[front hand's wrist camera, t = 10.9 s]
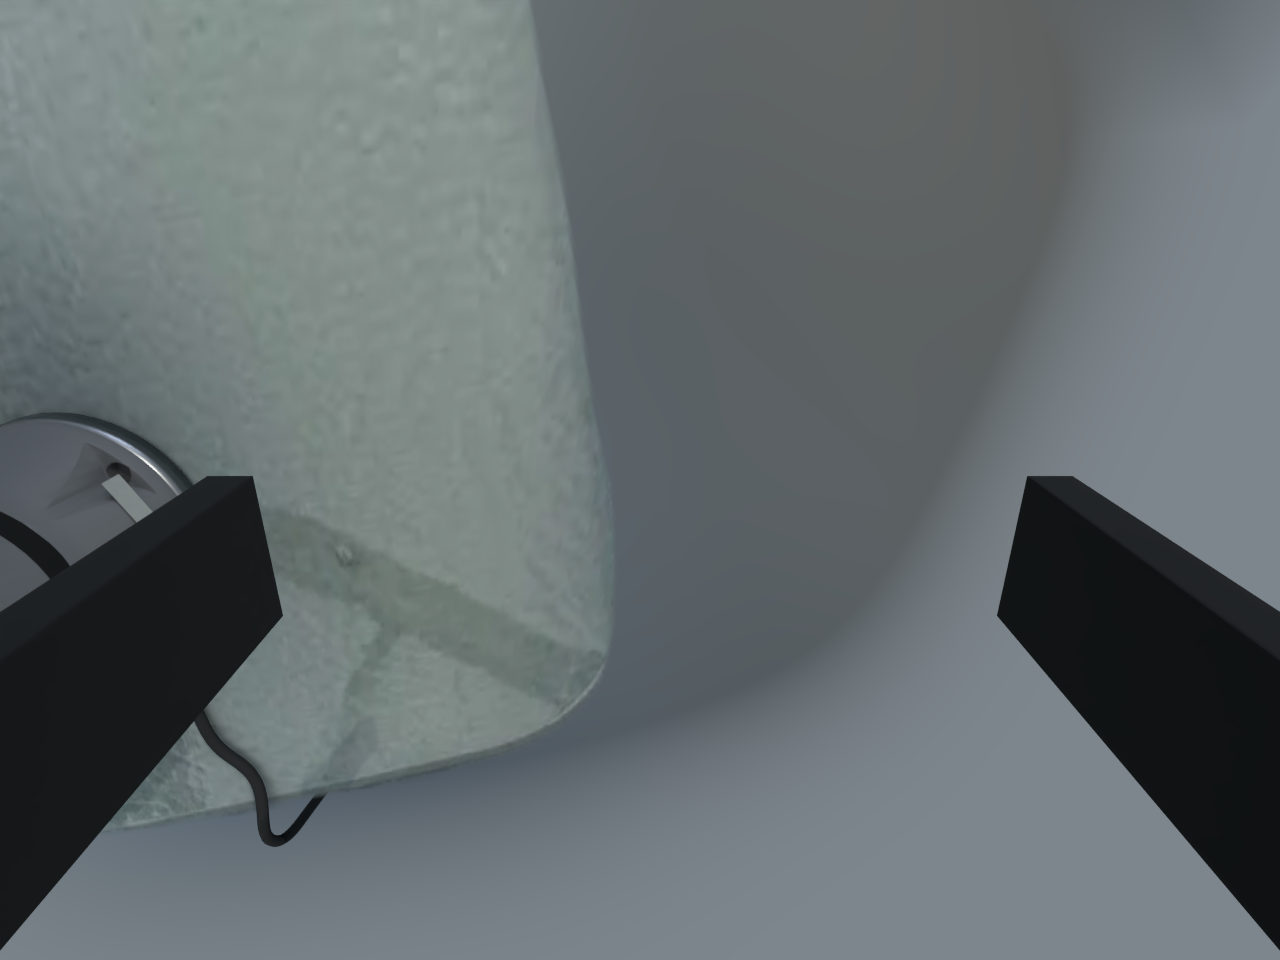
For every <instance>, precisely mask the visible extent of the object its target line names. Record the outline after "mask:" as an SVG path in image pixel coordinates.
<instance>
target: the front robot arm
mask: <svg viewBox="0 0 1280 960" xmlns="http://www.w3.org/2000/svg"><path fill="white" fill-rule="evenodd" d="M282 616H283V614H282V609H281V605H280V600H279V595H278V591H277V586H276V581H275V577H274V572H273V568H272V563H271V558H270V554H269V549H268V545H267V540H266V535H265V531H264V526H263V522H262V517H261V512H260V508H259V503H258V498H257V494H256V489H255V485H254V480H253V476H207V477H205V478H204V479H202V480H201V481H199V482H198V483H196V484H195V485H192V484H191V482H190V481H189V480H188V479H187V477H186V476H185V475H184V474H183V473H182V471H181V470H180V469H179V468H178V467H177V466H176V465H175V464H174V463H173V462H172V461H171V460H170V459H169V458H168V457H166V456H165V455H164V454H163V453H162V452H160V451H159V450H158V449H157V448H155V447H154V446H152V445H151V444H150V443H148V442H147V441H145V440H144V439H142V438H140V437H139V436H137V435H135V434H133V433H132V432H130V431H127V430H125V429H123V428H121V427H119V426H117V425H114V424H111V423H109V422H106V421H103V420H100V419H96V418H93V417H88V416H84V415H78V414H70V413H41V414H35V415H29V416H26V417H22V418H19V419H16V420H13V421H10V422H8V423H5V424H2V425H0V950H1V949H2V948H3V946H4V945H5V944H6V943H7V942H8V941H9V939H10V938H11V937H12V936H13V935H14V933H15V932H16V931H17V930H18V929H19V927H20V926H21V925H22V924H23V923H24V922H25V920H26V919H27V918H28V917H29V916H30V914H31V913H32V912H33V911H34V910H35V909H36V907H37V906H38V905H39V904H40V903H41V901H42V900H43V899H44V898H45V897H46V896H47V894H48V893H49V892H50V891H51V890H52V888H53V887H54V886H55V885H56V884H57V883H58V881H59V880H60V879H61V878H62V877H63V875H64V874H65V873H66V872H67V871H68V869H69V868H70V867H71V866H72V865H73V864H74V862H75V861H76V860H77V859H78V858H79V856H80V855H81V854H82V853H83V852H84V850H85V849H86V848H87V847H88V846H89V845H90V843H91V842H92V841H93V840H94V839H95V838H96V836H97V835H98V834H99V833H100V832H101V830H102V829H103V828H104V827H105V826H106V825H107V823H108V822H109V821H110V820H111V819H112V817H113V816H114V815H115V814H116V813H117V811H118V810H119V809H120V808H121V807H122V806H123V804H124V803H125V802H126V801H127V800H128V798H129V797H130V796H131V795H132V794H133V793H134V791H135V790H136V789H137V788H138V787H139V785H140V784H141V783H142V782H143V781H144V780H145V778H146V777H147V776H148V775H149V774H150V772H151V771H152V770H153V769H154V768H155V767H156V765H157V764H158V763H159V762H160V761H161V759H162V758H163V757H164V756H165V755H166V753H167V752H168V751H169V750H170V749H171V748H172V746H173V745H174V744H175V743H176V742H177V740H178V739H179V738H180V737H181V736H182V735H183V733H184V732H185V731H186V730H187V729H188V727H189V726H190V725H191V724H192V723H193V722H194V721H195V723H196V725H197V727H198V729H199V731H200V733H201V735H202V737H203V738H204V740H205V741H206V743H207V744H208V745H209V747H210V748H211V749H212V750H213V751H214V752H215V753H216V754H217V755H218V756H220V757H221V758H222V759H223V760H225V761H226V762H228V763H229V764H230V765H232V766H233V767H235V768H236V769H237V770H239V771H240V772H241V773H242V774H243V775H244V776H245V777H246V778H247V780H248V781H249V783H250V785H251V787H252V789H253V792H254V796H255V801H256V810H257V823H258V831H259V834H260V837H261V839H262V841H263V842H264V843H265V844H267V845H269V846H272V847H277V846H281V845H283V844H285V843H287V842H289V841H290V840H291V839H292V838H293V837H294V836H295V835H296V834H297V833H298V832H299V831H300V829H301V828H302V827H303V826H304V824H305V823H306V821H307V820H308V819H309V817H310V816H311V815H312V813H313V812H314V810H315V809H316V808H317V806H318V805H319V804H320V802H321V801H322V800H323V798H324V797H325V796H326V794H324V795H318V796H314V797H313V798H312V799H311V800H310V802H309V803H308V804H307V806H306V807H305V808H304V810H303V811H302V812H301V814H300V815H299V816H298V818H297V819H296V820H295V821H294V823H293V824H292V825H291V826H290V827H289V828H288V829H287V830H286V831H285V832H284V833H283V834H281V835H274V834H273V833H272V832H271V829H270V822H269V808H268V799H267V793H266V789H265V786H264V783H263V781H262V779H261V777H260V775H259V774H258V772H257V771H256V769H255V768H254V767H253V766H252V765H251V764H250V763H249V762H248V761H246V760H245V759H244V758H242V757H241V756H240V755H238V754H237V753H235V752H234V751H233V750H231V749H230V748H229V747H228V746H226V745H225V744H224V743H223V742H222V741H221V740H220V738H219V737H218V736H217V734H216V733H215V732H214V730H213V728H212V726H211V724H210V722H209V720H208V718H207V716H206V714H205V712H204V711H203V710H204V709H205V707H206V706H207V705H208V704H209V703H210V701H211V700H212V699H213V698H214V697H215V695H216V694H217V693H218V692H219V691H220V690H221V688H222V687H223V686H224V685H225V684H226V682H227V681H228V680H229V679H230V678H231V677H232V675H233V674H234V673H235V672H236V671H237V669H238V668H239V667H240V666H241V665H242V664H243V662H244V661H245V660H246V659H247V658H248V656H249V655H250V654H251V653H252V652H253V651H254V649H255V648H256V647H257V646H258V645H259V643H260V642H261V641H262V640H263V639H264V637H265V636H266V635H267V634H268V633H269V632H270V630H271V629H272V628H273V627H274V626H275V624H276V623H277V622H278V621H279V620H280V619H281V617H282ZM997 616H998V617H999V619H1000V620H1001V621H1002V622H1003V623H1004V624H1005V626H1006V627H1007V628H1008V629H1009V630H1010V632H1011V633H1012V634H1013V635H1014V636H1015V637H1016V639H1017V640H1018V641H1019V642H1020V643H1021V645H1022V646H1023V647H1024V648H1025V649H1026V650H1027V652H1028V653H1029V654H1030V655H1031V656H1032V658H1033V659H1034V660H1035V661H1036V662H1037V664H1038V665H1039V666H1040V667H1041V668H1042V669H1043V671H1044V672H1045V673H1046V674H1047V675H1048V677H1049V678H1050V679H1051V680H1052V681H1053V682H1054V684H1055V685H1056V686H1057V687H1058V688H1059V690H1060V691H1061V692H1062V693H1063V694H1064V695H1065V697H1066V698H1067V699H1068V700H1069V701H1070V703H1071V704H1072V705H1073V706H1074V707H1075V708H1076V710H1077V711H1078V712H1079V713H1080V714H1081V716H1082V717H1083V718H1084V719H1085V720H1086V722H1087V723H1088V724H1089V725H1090V726H1091V727H1092V729H1093V730H1094V731H1095V732H1096V733H1097V735H1098V736H1099V737H1100V738H1101V739H1102V740H1103V742H1104V743H1105V744H1106V745H1107V746H1108V748H1109V749H1110V750H1111V751H1112V752H1113V753H1114V755H1115V756H1116V757H1117V758H1118V759H1119V761H1120V762H1121V763H1122V764H1123V765H1124V767H1125V768H1126V769H1127V770H1128V771H1129V772H1130V774H1131V775H1132V776H1133V777H1134V778H1135V780H1136V781H1137V782H1138V783H1139V784H1140V785H1141V787H1142V788H1143V789H1144V790H1145V791H1146V793H1147V794H1148V795H1149V796H1150V797H1151V798H1152V800H1153V801H1154V802H1155V803H1156V804H1157V806H1158V807H1159V808H1160V809H1161V810H1162V811H1163V813H1164V814H1165V815H1166V816H1167V817H1168V819H1169V820H1170V821H1171V822H1172V823H1173V825H1174V826H1175V827H1176V828H1177V829H1178V830H1179V832H1180V833H1181V834H1182V835H1183V836H1184V838H1185V839H1186V840H1187V841H1188V842H1189V843H1190V845H1191V846H1192V847H1193V848H1194V849H1195V851H1196V852H1197V853H1198V854H1199V855H1200V856H1201V858H1202V859H1203V860H1204V861H1205V862H1206V864H1207V865H1208V866H1209V867H1210V868H1211V869H1212V871H1213V872H1214V873H1215V874H1216V875H1217V877H1218V878H1219V879H1220V880H1221V881H1222V883H1223V884H1224V885H1225V886H1226V887H1227V888H1228V890H1229V891H1230V892H1231V893H1232V894H1233V896H1234V897H1235V898H1236V899H1237V900H1238V901H1239V903H1240V904H1241V905H1242V906H1243V907H1244V909H1245V910H1246V911H1247V912H1248V913H1249V914H1250V916H1251V917H1252V918H1253V919H1254V920H1255V922H1256V923H1257V924H1258V925H1259V926H1260V927H1261V929H1262V930H1263V931H1264V932H1265V933H1266V935H1267V936H1268V937H1269V938H1270V939H1271V940H1272V942H1273V943H1274V944H1275V945H1276V946H1277V948H1278V949H1279V950H1280V612H1279V611H1278V610H1276V609H1275V608H1273V607H1272V606H1270V605H1268V604H1267V603H1265V602H1264V601H1262V600H1261V599H1259V598H1258V597H1256V596H1255V595H1253V594H1252V593H1250V592H1249V591H1247V590H1246V589H1244V588H1243V587H1241V586H1240V585H1238V584H1237V583H1235V582H1233V581H1232V580H1230V579H1229V578H1227V577H1226V576H1224V575H1223V574H1221V573H1220V572H1218V571H1217V570H1215V569H1214V568H1212V567H1211V566H1209V565H1207V564H1206V563H1204V562H1203V561H1201V560H1200V559H1198V558H1197V557H1195V556H1194V555H1192V554H1191V553H1189V552H1188V551H1186V550H1185V549H1183V548H1182V547H1180V546H1178V545H1177V544H1175V543H1174V542H1172V541H1171V540H1169V539H1168V538H1166V537H1165V536H1163V535H1162V534H1160V533H1159V532H1157V531H1156V530H1154V529H1152V528H1151V527H1149V526H1148V525H1146V524H1145V523H1143V522H1142V521H1140V520H1139V519H1137V518H1136V517H1134V516H1133V515H1131V514H1129V513H1128V512H1127V511H1125V510H1123V509H1122V508H1120V507H1119V506H1117V505H1116V504H1114V503H1113V502H1111V501H1110V500H1108V499H1107V498H1105V497H1104V496H1102V495H1100V494H1099V493H1097V492H1096V491H1094V490H1093V489H1091V488H1090V487H1088V486H1087V485H1085V484H1084V483H1082V482H1081V481H1079V480H1078V479H1076V478H1074V477H1073V476H1027V480H1026V485H1025V489H1024V494H1023V499H1022V503H1021V508H1020V512H1019V517H1018V522H1017V526H1016V531H1015V535H1014V540H1013V545H1012V549H1011V554H1010V558H1009V563H1008V568H1007V572H1006V577H1005V581H1004V586H1003V591H1002V595H1001V600H1000V605H999V609H998V614H997Z"/></svg>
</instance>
